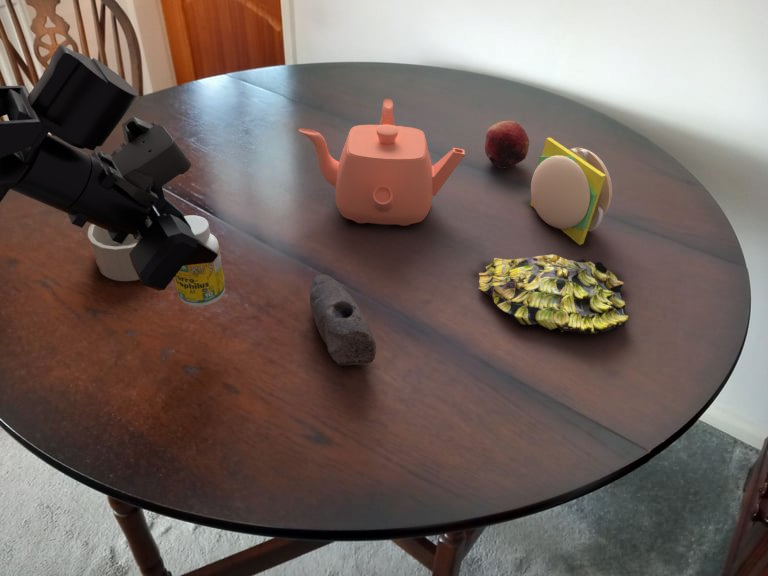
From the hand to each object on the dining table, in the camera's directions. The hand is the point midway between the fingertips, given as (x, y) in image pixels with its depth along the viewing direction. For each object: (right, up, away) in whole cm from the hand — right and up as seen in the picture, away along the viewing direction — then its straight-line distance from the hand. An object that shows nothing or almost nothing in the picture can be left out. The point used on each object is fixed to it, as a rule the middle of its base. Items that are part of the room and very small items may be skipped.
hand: (205, 244), depth 68 cm
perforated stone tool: (+14, -11, +9) cm, 20 cm away
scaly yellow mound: (+42, -6, +17) cm, 46 cm away
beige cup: (-15, -1, +18) cm, 23 cm away
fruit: (+41, +17, +43) cm, 62 cm away
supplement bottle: (-2, -6, +4) cm, 7 cm away
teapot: (+19, +8, +31) cm, 37 cm away
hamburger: (+48, +6, +30) cm, 57 cm away
